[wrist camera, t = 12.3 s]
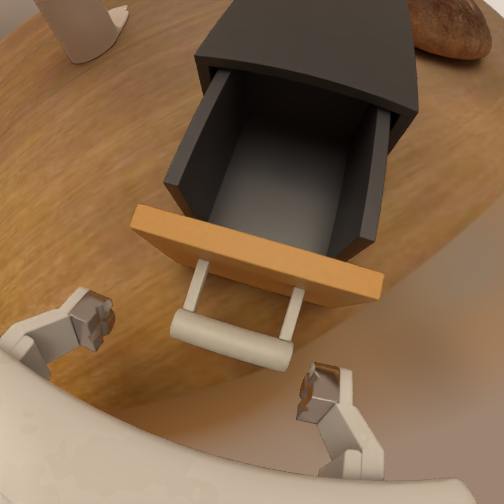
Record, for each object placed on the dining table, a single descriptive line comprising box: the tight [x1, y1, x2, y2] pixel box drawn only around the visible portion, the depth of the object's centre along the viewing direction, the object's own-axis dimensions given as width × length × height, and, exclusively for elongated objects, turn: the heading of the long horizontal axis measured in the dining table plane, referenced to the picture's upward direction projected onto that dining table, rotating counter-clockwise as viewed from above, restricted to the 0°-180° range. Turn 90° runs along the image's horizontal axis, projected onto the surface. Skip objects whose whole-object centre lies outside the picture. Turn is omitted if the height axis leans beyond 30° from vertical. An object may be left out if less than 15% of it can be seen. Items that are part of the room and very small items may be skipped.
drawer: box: [130, 67, 391, 372], centre depth 18 cm, size 18×11×9 cm, turn 163°
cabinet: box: [194, 0, 419, 156], centre depth 20 cm, size 15×13×11 cm
